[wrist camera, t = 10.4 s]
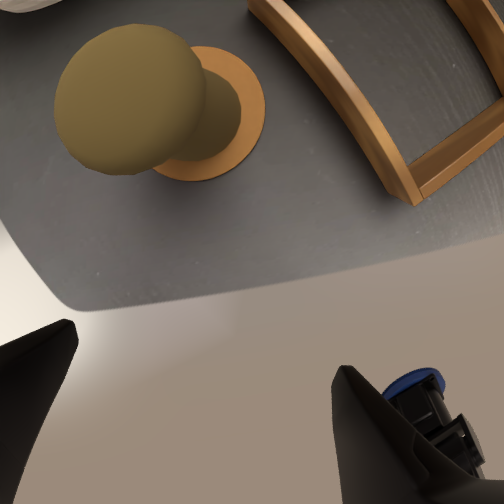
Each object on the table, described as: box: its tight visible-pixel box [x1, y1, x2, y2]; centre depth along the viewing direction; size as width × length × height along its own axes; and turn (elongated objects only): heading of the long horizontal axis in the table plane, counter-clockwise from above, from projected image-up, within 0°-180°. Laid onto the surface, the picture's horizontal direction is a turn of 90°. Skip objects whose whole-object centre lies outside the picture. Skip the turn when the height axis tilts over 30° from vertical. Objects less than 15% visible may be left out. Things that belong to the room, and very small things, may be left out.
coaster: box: [153, 46, 265, 181], centre depth 17 cm, size 9×9×1 cm
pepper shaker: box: [54, 23, 241, 175], centre depth 11 cm, size 6×6×11 cm
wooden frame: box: [247, 0, 504, 207], centre depth 12 cm, size 16×16×4 cm
